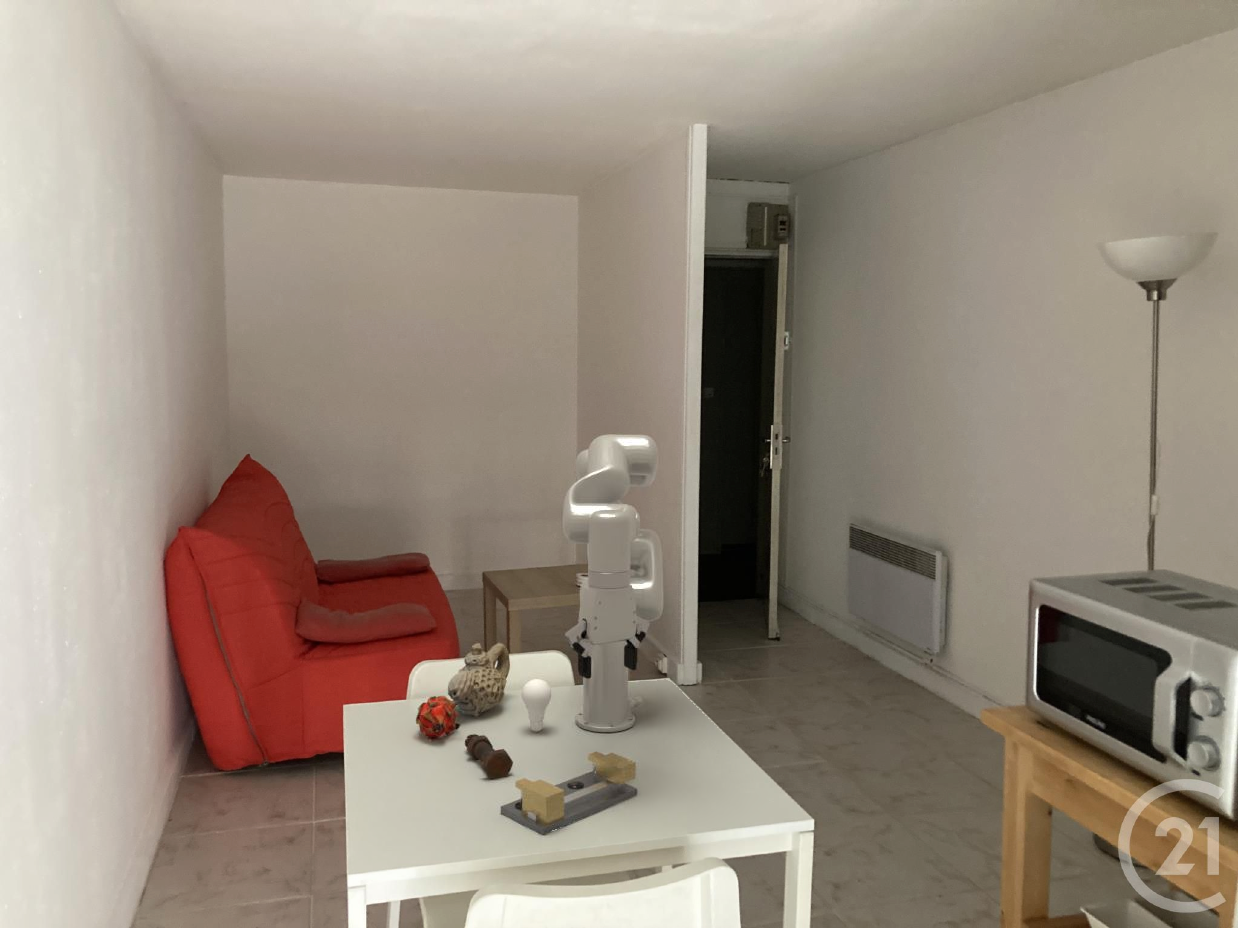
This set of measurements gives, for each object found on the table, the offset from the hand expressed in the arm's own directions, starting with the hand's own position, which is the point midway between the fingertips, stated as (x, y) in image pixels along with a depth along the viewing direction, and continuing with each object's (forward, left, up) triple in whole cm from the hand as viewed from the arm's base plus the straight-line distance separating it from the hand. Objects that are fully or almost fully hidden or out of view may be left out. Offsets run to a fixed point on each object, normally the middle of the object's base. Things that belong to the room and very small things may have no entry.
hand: (607, 672), depth 184 cm
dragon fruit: (+9, -40, -21) cm, 46 cm away
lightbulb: (-7, -28, -21) cm, 35 cm away
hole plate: (+11, +2, -21) cm, 23 cm away
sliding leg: (+2, +3, -19) cm, 19 cm away
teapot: (-6, -46, -21) cm, 50 cm away
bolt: (+11, -22, -21) cm, 32 cm away
